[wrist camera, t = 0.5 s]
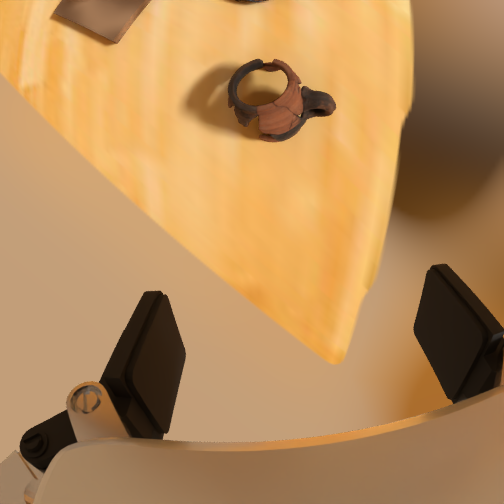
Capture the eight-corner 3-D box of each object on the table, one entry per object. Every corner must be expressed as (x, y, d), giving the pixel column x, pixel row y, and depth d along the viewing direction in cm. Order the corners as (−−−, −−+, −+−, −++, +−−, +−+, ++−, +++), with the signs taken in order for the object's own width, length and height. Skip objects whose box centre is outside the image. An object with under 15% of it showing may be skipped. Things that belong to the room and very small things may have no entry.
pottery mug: (241, 149, 37) (216, 124, 29) (245, 87, 36) (224, 55, 29) (337, 147, 33) (336, 118, 25) (334, 83, 33) (331, 45, 25)
